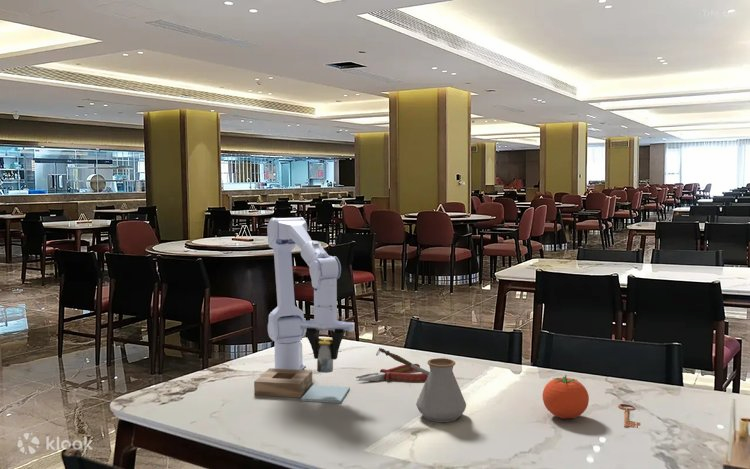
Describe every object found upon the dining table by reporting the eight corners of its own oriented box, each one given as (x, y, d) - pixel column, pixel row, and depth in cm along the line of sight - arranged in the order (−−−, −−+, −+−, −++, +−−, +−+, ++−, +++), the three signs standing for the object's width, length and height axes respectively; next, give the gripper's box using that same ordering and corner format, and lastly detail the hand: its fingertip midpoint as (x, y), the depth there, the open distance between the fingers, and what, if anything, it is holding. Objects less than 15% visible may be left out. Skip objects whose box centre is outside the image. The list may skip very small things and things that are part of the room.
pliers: (351, 377, 184) (351, 367, 184) (418, 370, 191) (418, 362, 190) (363, 389, 174) (363, 379, 173) (433, 382, 180) (434, 373, 180)
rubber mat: (312, 387, 174) (312, 385, 174) (349, 389, 172) (349, 386, 172) (301, 400, 163) (301, 398, 163) (340, 403, 161) (340, 400, 161)
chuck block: (269, 380, 179) (269, 368, 179) (312, 383, 177) (312, 370, 177) (254, 394, 168) (254, 381, 167) (300, 397, 166) (299, 383, 165)
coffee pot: (470, 410, 156) (470, 348, 155) (461, 428, 145) (461, 361, 144) (383, 401, 162) (383, 341, 161) (369, 417, 152) (368, 353, 150)
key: (644, 433, 144) (643, 410, 158) (645, 429, 144) (644, 406, 158) (616, 427, 146) (618, 405, 160) (616, 423, 146) (618, 401, 160)
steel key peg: (314, 372, 165) (315, 340, 164) (317, 368, 169) (318, 337, 169) (332, 373, 164) (333, 341, 164) (334, 369, 169) (335, 338, 168)
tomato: (586, 411, 155) (587, 370, 154) (589, 427, 145) (591, 383, 144) (542, 408, 157) (542, 367, 157) (542, 423, 148) (542, 379, 147)
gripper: (293, 307, 163) (293, 361, 164) (350, 309, 161) (350, 363, 162) (300, 302, 170) (301, 353, 171) (356, 303, 168) (356, 356, 169)
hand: (325, 358), depth 167 cm, fingers closed on steel key peg, 4 cm apart
